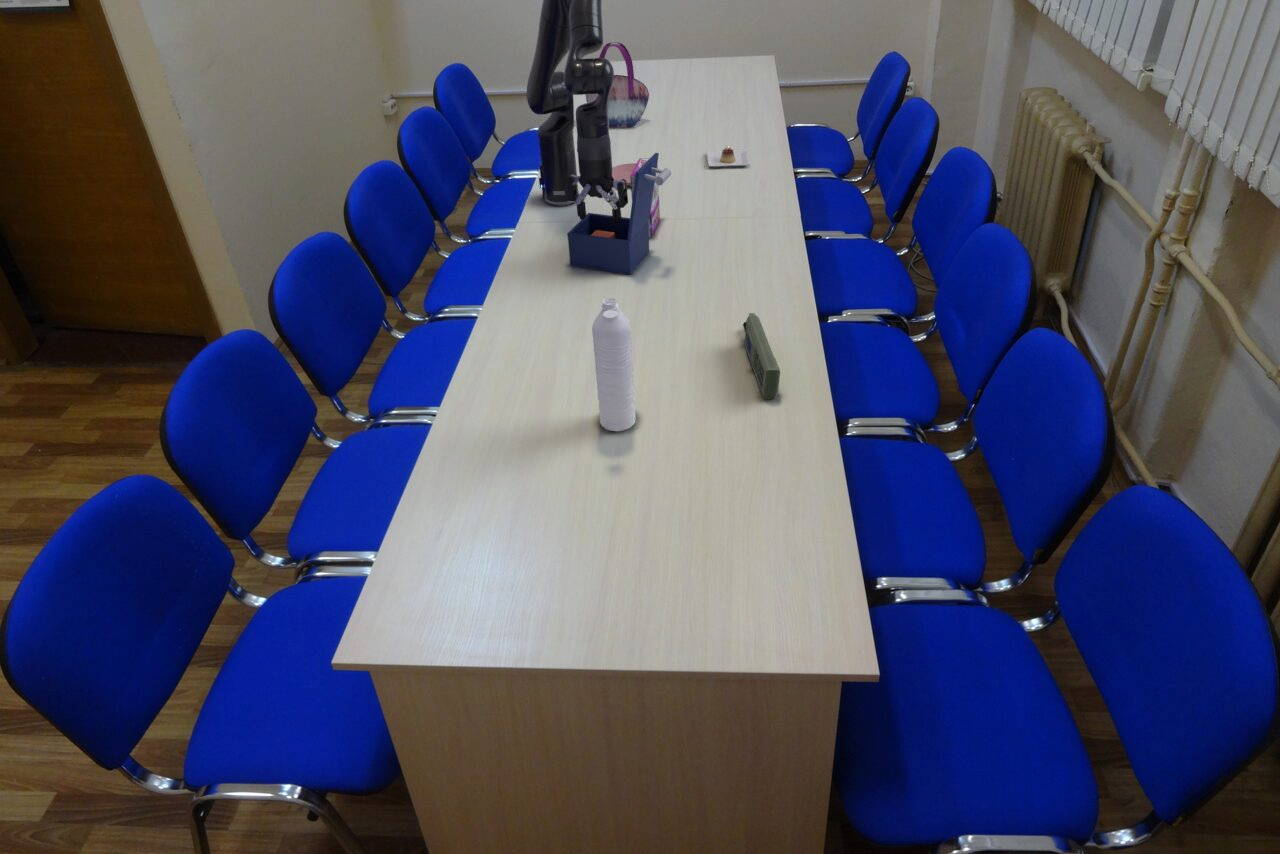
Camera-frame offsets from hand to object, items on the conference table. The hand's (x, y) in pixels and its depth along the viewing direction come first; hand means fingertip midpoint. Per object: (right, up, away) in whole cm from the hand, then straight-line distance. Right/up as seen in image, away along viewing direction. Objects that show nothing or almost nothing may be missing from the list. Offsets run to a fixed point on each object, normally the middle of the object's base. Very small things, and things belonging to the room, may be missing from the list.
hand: (599, 220), depth 201 cm
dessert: (+36, +30, +52) cm, 70 cm away
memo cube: (+1, -7, +5) cm, 9 cm away
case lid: (+10, +4, -8) cm, 13 cm away
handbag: (+2, +52, +82) cm, 97 cm away
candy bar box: (+11, +2, +18) cm, 21 cm away
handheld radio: (+33, -36, -32) cm, 58 cm away
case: (+2, -8, +5) cm, 10 cm away
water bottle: (+6, -49, -46) cm, 67 cm away
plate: (+7, +22, +44) cm, 50 cm away
